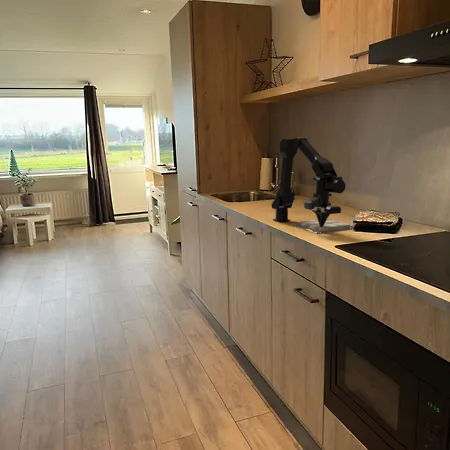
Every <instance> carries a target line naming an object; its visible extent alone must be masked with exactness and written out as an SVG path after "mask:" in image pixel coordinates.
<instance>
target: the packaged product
mask: <svg viewBox="0 0 450 450" xmlns="http://www.w3.org/2000/svg"><path fill="white" fill-rule="evenodd" d="M359 214H360V213H357V214H355V215H354V217H353V218H352V219H351V221H350V224H349V225H350V227H353V226H354V223H353V221H354V220H355V219H356V218H357V216H358V215H359Z"/></svg>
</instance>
